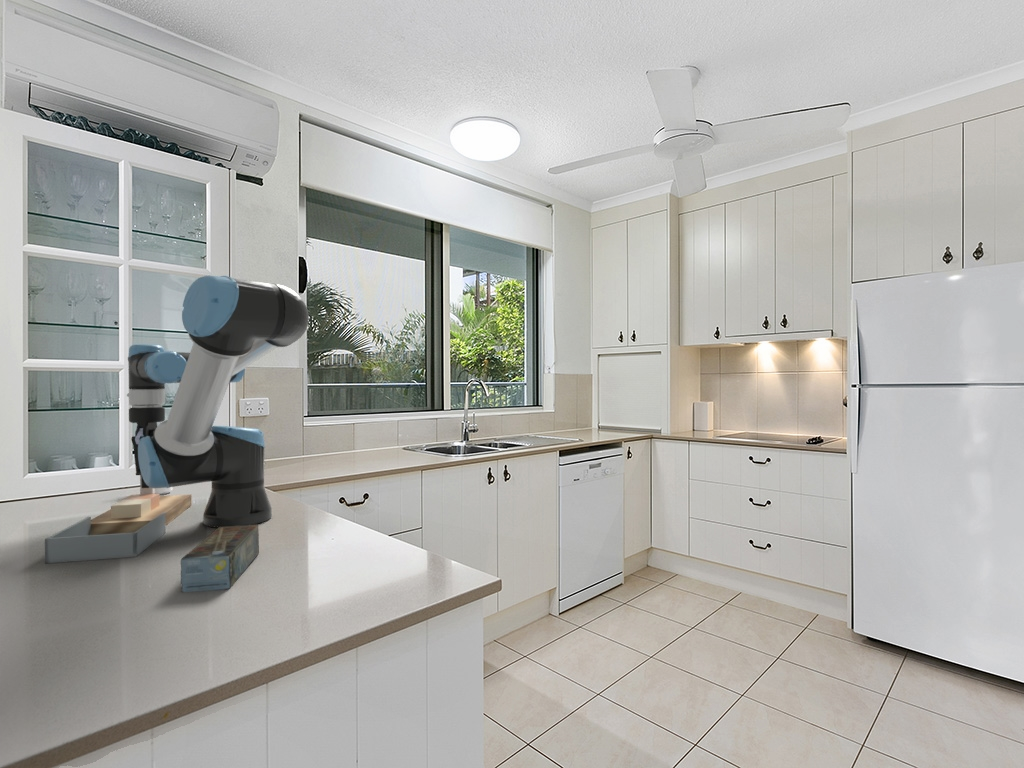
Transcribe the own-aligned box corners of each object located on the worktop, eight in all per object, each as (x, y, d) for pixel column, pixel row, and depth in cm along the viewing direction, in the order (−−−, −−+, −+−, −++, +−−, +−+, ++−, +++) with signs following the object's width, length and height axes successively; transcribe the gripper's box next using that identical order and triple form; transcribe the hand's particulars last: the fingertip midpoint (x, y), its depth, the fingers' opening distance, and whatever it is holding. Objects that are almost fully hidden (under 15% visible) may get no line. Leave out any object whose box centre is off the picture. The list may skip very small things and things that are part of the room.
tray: (165, 532, 123) (165, 512, 123) (136, 556, 107) (136, 533, 107) (87, 537, 119) (87, 516, 119) (45, 563, 103) (44, 539, 103)
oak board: (191, 505, 150) (191, 494, 150) (155, 533, 123) (155, 520, 123) (132, 508, 146) (132, 497, 146) (82, 538, 119) (82, 524, 119)
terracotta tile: (159, 505, 137) (159, 493, 137) (150, 510, 131) (150, 498, 131) (132, 506, 135) (132, 494, 135) (121, 512, 129) (121, 499, 129)
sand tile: (150, 510, 131) (150, 498, 131) (141, 517, 125) (141, 504, 125) (122, 512, 129) (122, 499, 129) (110, 518, 124) (110, 505, 124)
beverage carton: (177, 594, 89) (177, 554, 89) (217, 556, 108) (217, 523, 108) (230, 590, 91) (230, 551, 91) (260, 554, 109) (260, 521, 109)
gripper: (140, 405, 142) (140, 495, 142) (118, 407, 129) (119, 506, 129) (172, 405, 144) (173, 494, 144) (154, 407, 131) (154, 505, 131)
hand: (147, 500), depth 137 cm, fingers closed
